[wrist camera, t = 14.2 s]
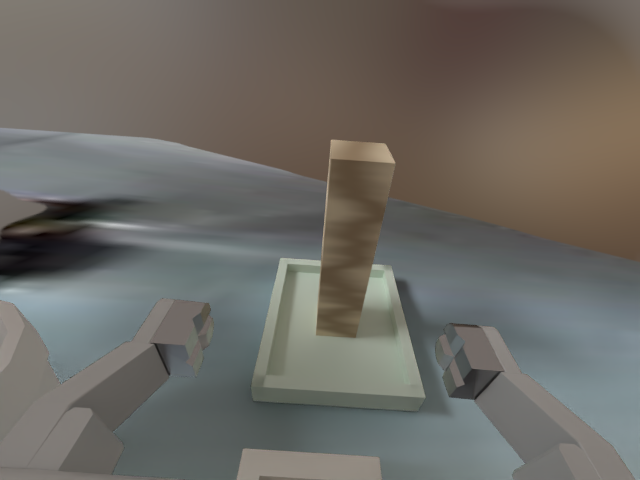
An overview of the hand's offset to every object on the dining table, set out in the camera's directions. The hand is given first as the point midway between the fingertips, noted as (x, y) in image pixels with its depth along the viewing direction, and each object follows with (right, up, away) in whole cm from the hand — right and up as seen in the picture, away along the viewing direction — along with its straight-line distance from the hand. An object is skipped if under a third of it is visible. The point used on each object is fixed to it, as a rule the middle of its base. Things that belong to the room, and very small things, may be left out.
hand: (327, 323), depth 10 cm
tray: (+1, -7, +20) cm, 21 cm away
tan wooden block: (+1, -6, +20) cm, 21 cm away
